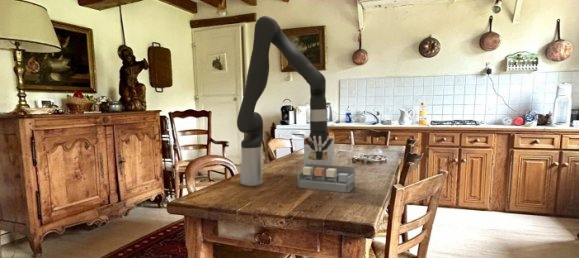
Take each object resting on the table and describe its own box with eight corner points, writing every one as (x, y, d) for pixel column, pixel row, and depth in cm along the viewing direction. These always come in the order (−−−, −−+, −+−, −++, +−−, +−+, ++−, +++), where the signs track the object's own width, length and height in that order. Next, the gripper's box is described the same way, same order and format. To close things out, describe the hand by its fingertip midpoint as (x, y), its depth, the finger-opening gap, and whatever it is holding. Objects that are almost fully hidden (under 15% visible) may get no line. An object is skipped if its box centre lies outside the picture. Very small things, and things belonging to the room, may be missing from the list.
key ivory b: (326, 176, 141) (326, 169, 141) (329, 175, 144) (328, 168, 144) (333, 177, 139) (333, 170, 139) (336, 175, 142) (336, 168, 142)
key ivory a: (302, 174, 146) (302, 167, 146) (306, 173, 149) (305, 166, 149) (310, 175, 144) (310, 168, 144) (313, 173, 147) (313, 167, 147)
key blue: (338, 181, 139) (338, 174, 138) (341, 179, 142) (341, 173, 141) (346, 182, 137) (346, 175, 137) (349, 180, 140) (348, 173, 140)
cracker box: (304, 179, 159) (303, 136, 157) (307, 176, 165) (306, 135, 163) (332, 180, 155) (332, 136, 153) (334, 177, 161) (334, 135, 159)
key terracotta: (314, 175, 143) (314, 168, 143) (317, 174, 147) (317, 167, 146) (321, 176, 142) (321, 169, 142) (324, 174, 145) (324, 167, 145)
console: (297, 187, 145) (297, 167, 144) (306, 182, 153) (306, 163, 153) (348, 192, 134) (348, 171, 133) (354, 186, 143) (354, 166, 142)
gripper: (300, 120, 142) (302, 160, 143) (329, 120, 136) (330, 161, 137) (308, 119, 148) (309, 157, 150) (335, 119, 142) (336, 159, 144)
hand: (319, 159), depth 143 cm, fingers closed
